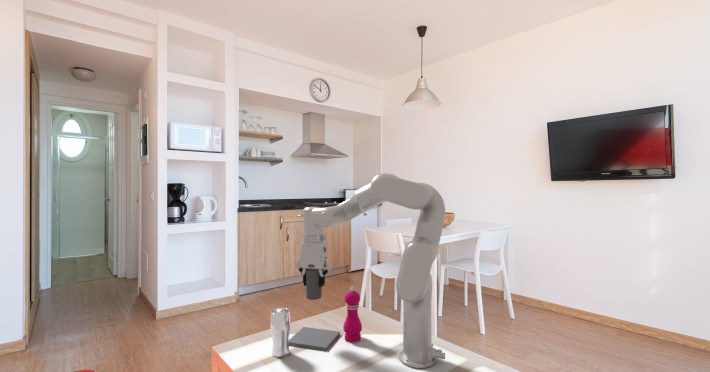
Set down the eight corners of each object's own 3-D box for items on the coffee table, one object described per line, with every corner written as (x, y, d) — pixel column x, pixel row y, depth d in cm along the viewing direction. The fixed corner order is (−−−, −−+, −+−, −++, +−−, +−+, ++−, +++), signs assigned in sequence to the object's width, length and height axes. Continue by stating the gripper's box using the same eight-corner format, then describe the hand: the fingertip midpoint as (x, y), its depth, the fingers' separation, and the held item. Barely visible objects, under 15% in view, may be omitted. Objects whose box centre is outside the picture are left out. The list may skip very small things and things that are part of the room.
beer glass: (294, 351, 122) (294, 309, 122) (280, 359, 116) (280, 316, 116) (280, 346, 126) (280, 306, 126) (266, 354, 120) (266, 312, 120)
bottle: (324, 297, 131) (324, 258, 131) (313, 301, 127) (312, 261, 127) (314, 294, 135) (314, 256, 135) (303, 297, 131) (302, 258, 131)
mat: (340, 334, 135) (340, 331, 135) (326, 351, 122) (326, 347, 122) (303, 329, 140) (303, 326, 140) (286, 344, 127) (286, 341, 127)
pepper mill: (360, 343, 127) (359, 290, 127) (341, 342, 129) (340, 289, 129) (363, 335, 134) (363, 285, 134) (345, 334, 136) (345, 284, 136)
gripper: (337, 238, 132) (338, 284, 132) (297, 236, 137) (298, 281, 137) (330, 241, 125) (330, 290, 125) (288, 239, 130) (289, 286, 130)
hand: (313, 285), depth 131 cm, fingers closed on bottle, 5 cm apart
